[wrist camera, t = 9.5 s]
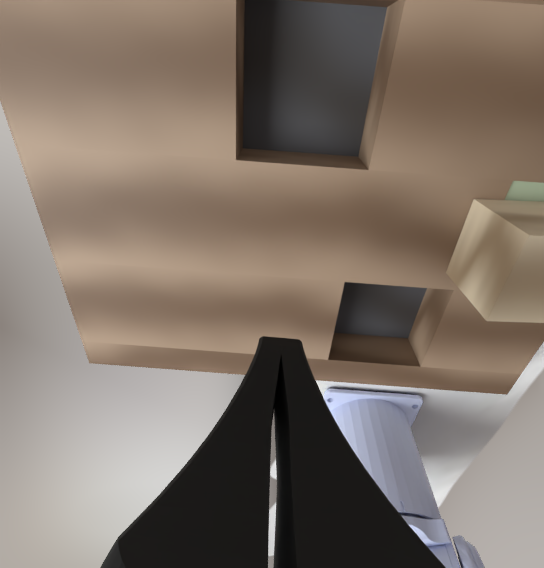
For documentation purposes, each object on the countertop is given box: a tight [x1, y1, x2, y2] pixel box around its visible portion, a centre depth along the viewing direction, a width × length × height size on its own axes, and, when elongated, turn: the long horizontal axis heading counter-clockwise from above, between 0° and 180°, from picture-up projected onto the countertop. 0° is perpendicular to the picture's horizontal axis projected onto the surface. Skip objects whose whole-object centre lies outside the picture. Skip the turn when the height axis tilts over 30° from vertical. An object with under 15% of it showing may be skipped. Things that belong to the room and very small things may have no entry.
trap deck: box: [0, 0, 544, 394], centre depth 18 cm, size 22×28×3 cm
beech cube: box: [446, 199, 544, 323], centre depth 15 cm, size 4×4×4 cm
